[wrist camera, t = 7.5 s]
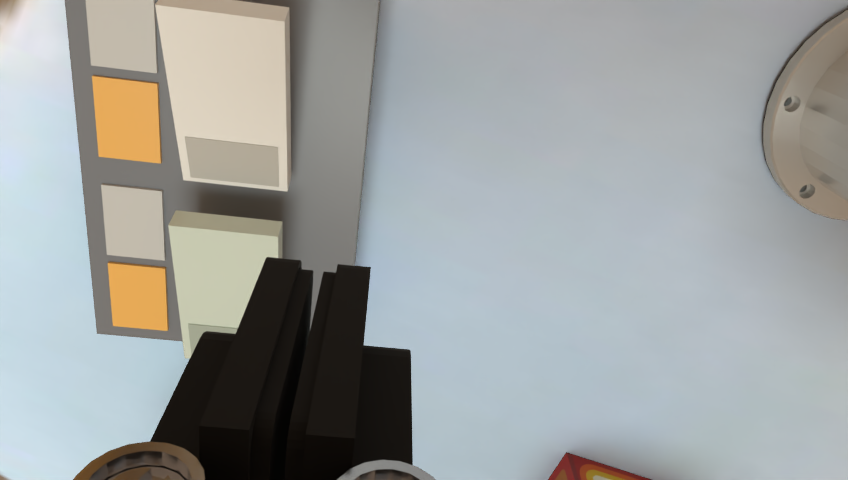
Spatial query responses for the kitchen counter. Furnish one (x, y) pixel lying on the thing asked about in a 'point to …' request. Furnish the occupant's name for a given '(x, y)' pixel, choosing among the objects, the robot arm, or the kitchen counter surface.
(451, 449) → the kitchen counter surface
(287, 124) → the rocker offwhite
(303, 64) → the switch unit
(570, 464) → the baking soda box
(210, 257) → the block
